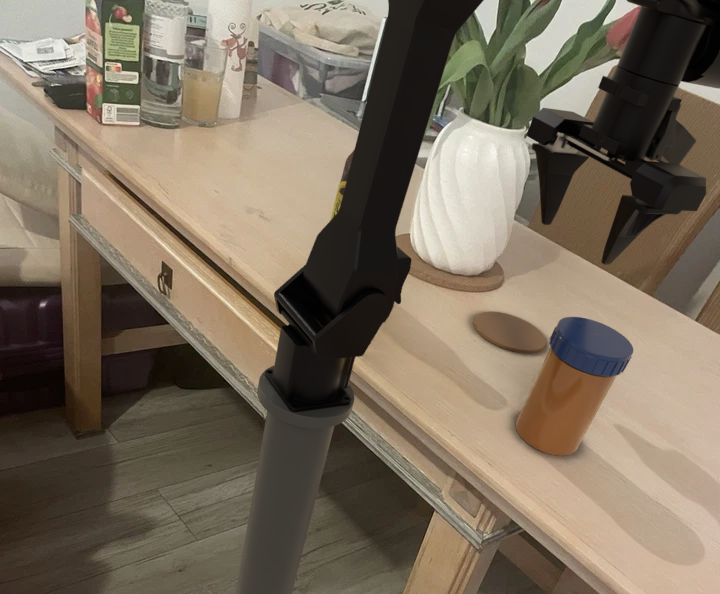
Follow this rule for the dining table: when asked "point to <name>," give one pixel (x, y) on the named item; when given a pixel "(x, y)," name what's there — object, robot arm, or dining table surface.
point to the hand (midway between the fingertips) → (574, 243)
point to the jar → (561, 406)
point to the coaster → (509, 332)
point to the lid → (591, 346)
